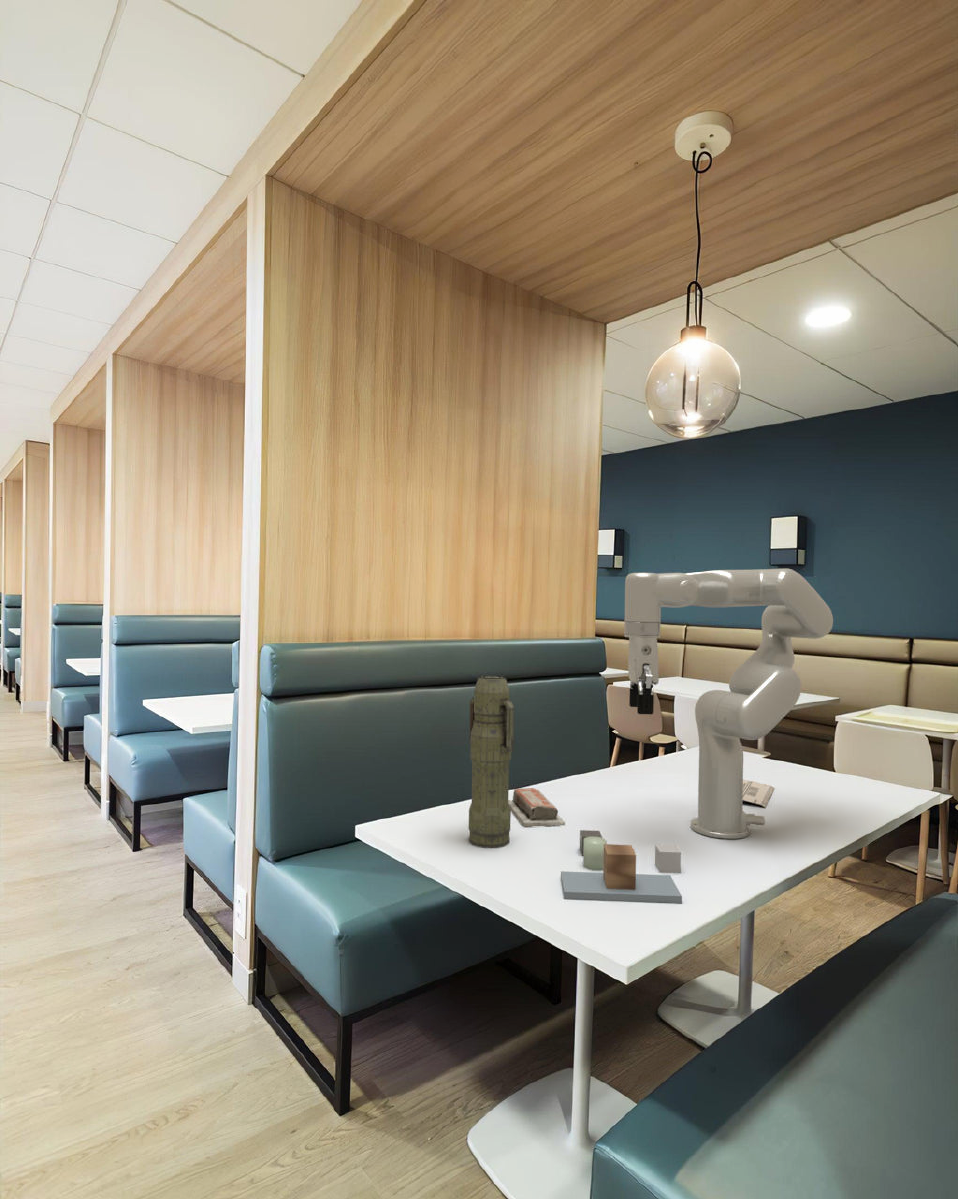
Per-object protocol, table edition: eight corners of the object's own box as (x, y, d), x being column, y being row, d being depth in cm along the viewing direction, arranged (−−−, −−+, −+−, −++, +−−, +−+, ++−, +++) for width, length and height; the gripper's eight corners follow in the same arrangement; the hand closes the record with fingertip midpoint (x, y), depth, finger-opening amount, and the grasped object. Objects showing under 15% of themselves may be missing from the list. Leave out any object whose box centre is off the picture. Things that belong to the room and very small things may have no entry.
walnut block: (631, 878, 125) (631, 845, 125) (635, 889, 120) (636, 855, 120) (603, 877, 125) (603, 844, 125) (606, 888, 120) (607, 854, 120)
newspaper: (728, 784, 199) (729, 776, 199) (773, 795, 193) (774, 786, 193) (713, 803, 179) (715, 794, 179) (764, 816, 173) (765, 806, 173)
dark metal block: (599, 850, 143) (599, 830, 143) (601, 857, 139) (602, 837, 139) (579, 849, 143) (579, 830, 143) (581, 856, 139) (582, 836, 139)
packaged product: (505, 787, 173) (543, 785, 175) (505, 806, 173) (543, 804, 175) (524, 808, 156) (566, 806, 158) (523, 829, 156) (565, 827, 158)
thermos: (480, 829, 154) (483, 673, 154) (523, 841, 146) (526, 677, 147) (454, 839, 147) (457, 676, 147) (498, 853, 140) (501, 680, 140)
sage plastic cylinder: (604, 862, 136) (605, 836, 136) (607, 871, 131) (608, 844, 131) (582, 861, 136) (582, 836, 136) (584, 870, 132) (584, 844, 132)
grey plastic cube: (675, 865, 135) (675, 845, 135) (680, 873, 131) (680, 852, 131) (654, 864, 135) (655, 844, 135) (659, 872, 131) (659, 851, 131)
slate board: (669, 882, 127) (670, 875, 127) (681, 903, 118) (682, 896, 118) (560, 877, 128) (560, 871, 128) (564, 898, 119) (564, 891, 119)
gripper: (669, 632, 138) (667, 717, 138) (651, 629, 156) (650, 704, 156) (631, 631, 139) (630, 716, 139) (618, 628, 156) (617, 704, 156)
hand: (640, 710), depth 147 cm, fingers open, 9 cm apart
